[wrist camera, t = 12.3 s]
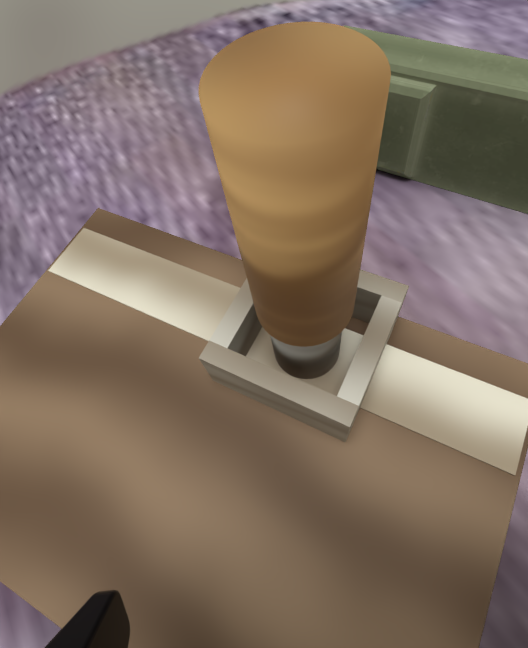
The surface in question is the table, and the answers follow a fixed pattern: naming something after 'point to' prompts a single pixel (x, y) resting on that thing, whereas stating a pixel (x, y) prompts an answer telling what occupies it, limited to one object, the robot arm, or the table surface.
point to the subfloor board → (247, 458)
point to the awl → (299, 174)
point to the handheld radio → (456, 119)
